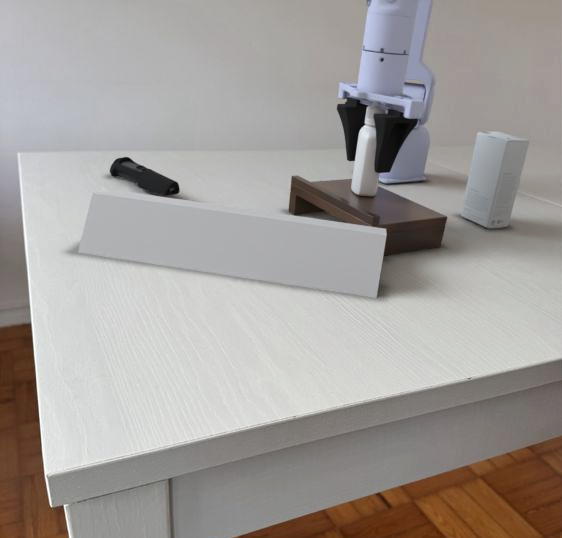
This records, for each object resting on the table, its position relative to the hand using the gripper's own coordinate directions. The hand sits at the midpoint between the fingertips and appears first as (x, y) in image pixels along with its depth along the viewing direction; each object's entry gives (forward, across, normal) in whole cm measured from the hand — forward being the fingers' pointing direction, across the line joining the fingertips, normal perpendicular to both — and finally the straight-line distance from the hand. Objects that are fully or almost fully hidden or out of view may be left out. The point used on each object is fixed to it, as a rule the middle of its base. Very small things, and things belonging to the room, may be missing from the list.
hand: (367, 166), depth 79 cm
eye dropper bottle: (+4, 0, 0) cm, 4 cm away
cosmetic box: (+8, +6, +18) cm, 20 cm away
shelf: (+7, +3, -2) cm, 8 cm away
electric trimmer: (+8, -22, -23) cm, 33 cm away
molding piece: (+8, +5, -21) cm, 23 cm away
